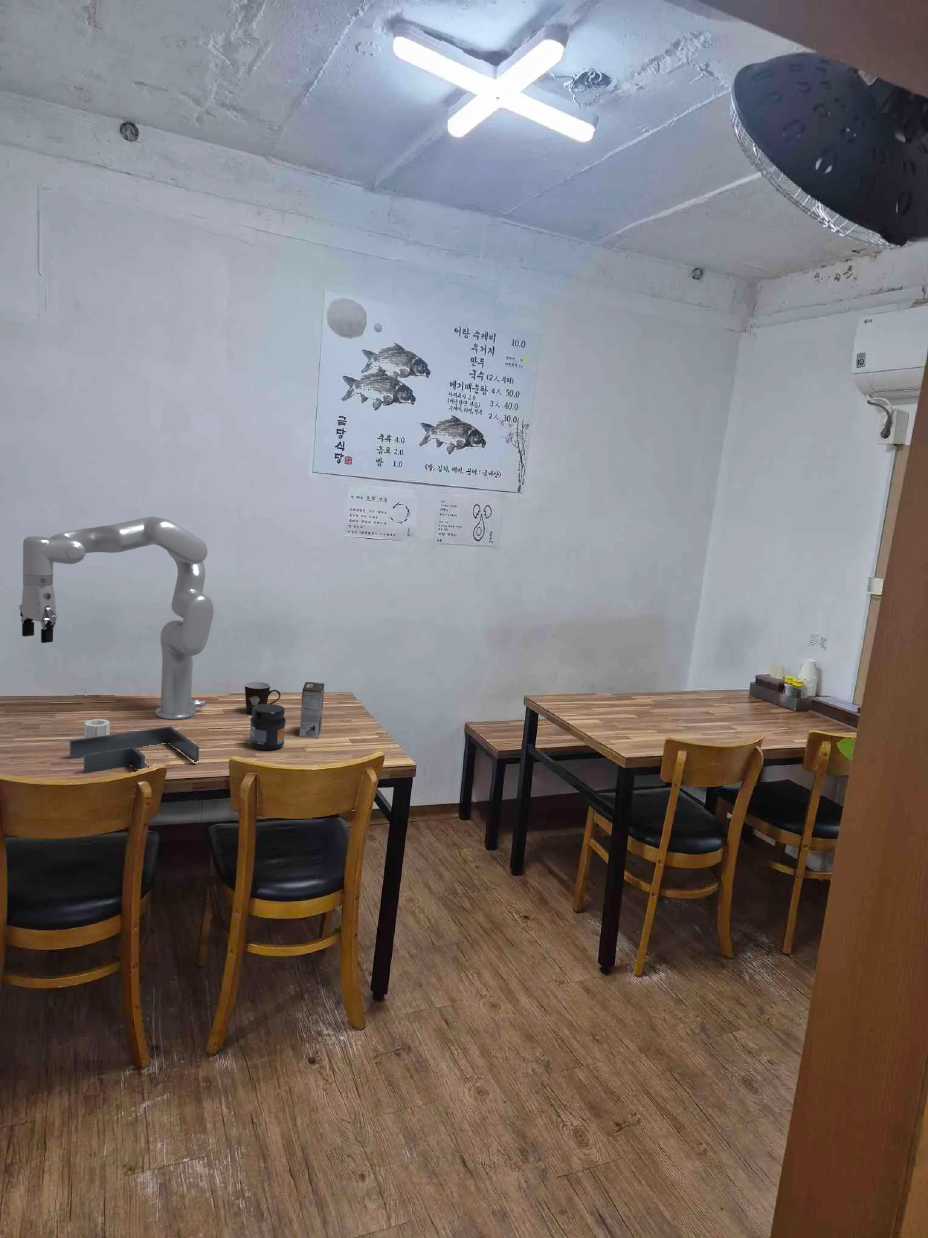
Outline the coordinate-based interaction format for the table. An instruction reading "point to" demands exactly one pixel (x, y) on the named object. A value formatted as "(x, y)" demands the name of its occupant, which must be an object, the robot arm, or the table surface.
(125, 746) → the rail course
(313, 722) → the coffee box
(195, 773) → the table surface
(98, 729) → the cream ring
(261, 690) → the coffee mug
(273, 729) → the supplement container
